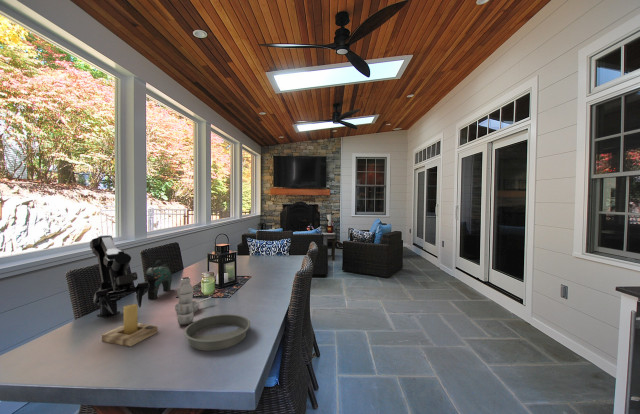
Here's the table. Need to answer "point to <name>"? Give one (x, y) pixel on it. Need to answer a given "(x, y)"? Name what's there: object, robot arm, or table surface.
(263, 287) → the table surface
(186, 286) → the plastic bottle
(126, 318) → the peg
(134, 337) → the wooden slotted board
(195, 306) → the saucepan
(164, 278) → the green elephant figurine
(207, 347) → the cake pan
